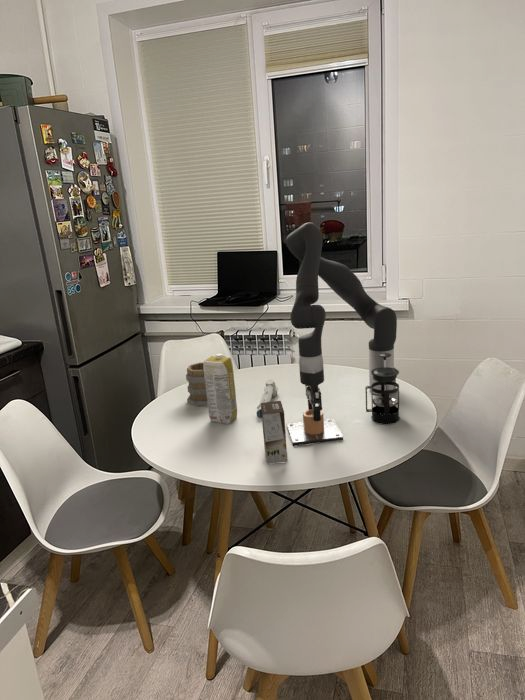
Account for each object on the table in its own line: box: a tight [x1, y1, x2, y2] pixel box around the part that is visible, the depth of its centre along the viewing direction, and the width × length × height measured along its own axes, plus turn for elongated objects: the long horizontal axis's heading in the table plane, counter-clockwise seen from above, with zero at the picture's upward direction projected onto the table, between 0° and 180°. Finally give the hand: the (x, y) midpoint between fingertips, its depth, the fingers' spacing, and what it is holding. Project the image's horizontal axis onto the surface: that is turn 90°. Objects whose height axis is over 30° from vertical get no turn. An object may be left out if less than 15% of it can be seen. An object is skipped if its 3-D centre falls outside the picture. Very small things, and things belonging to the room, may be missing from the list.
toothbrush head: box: [256, 379, 279, 419], centre depth 195 cm, size 5×7×25 cm
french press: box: [364, 353, 401, 425], centre depth 173 cm, size 12×9×23 cm
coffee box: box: [261, 400, 288, 465], centre depth 155 cm, size 9×6×16 cm
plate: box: [286, 414, 344, 447], centre depth 168 cm, size 16×14×6 cm
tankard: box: [185, 355, 226, 407], centre depth 205 cm, size 20×13×15 cm, turn 129°
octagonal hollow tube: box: [302, 409, 325, 435], centre depth 168 cm, size 6×6×7 cm
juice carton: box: [202, 353, 238, 425], centre depth 182 cm, size 9×8×24 cm
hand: (314, 415), depth 167 cm, fingers open, 8 cm apart
